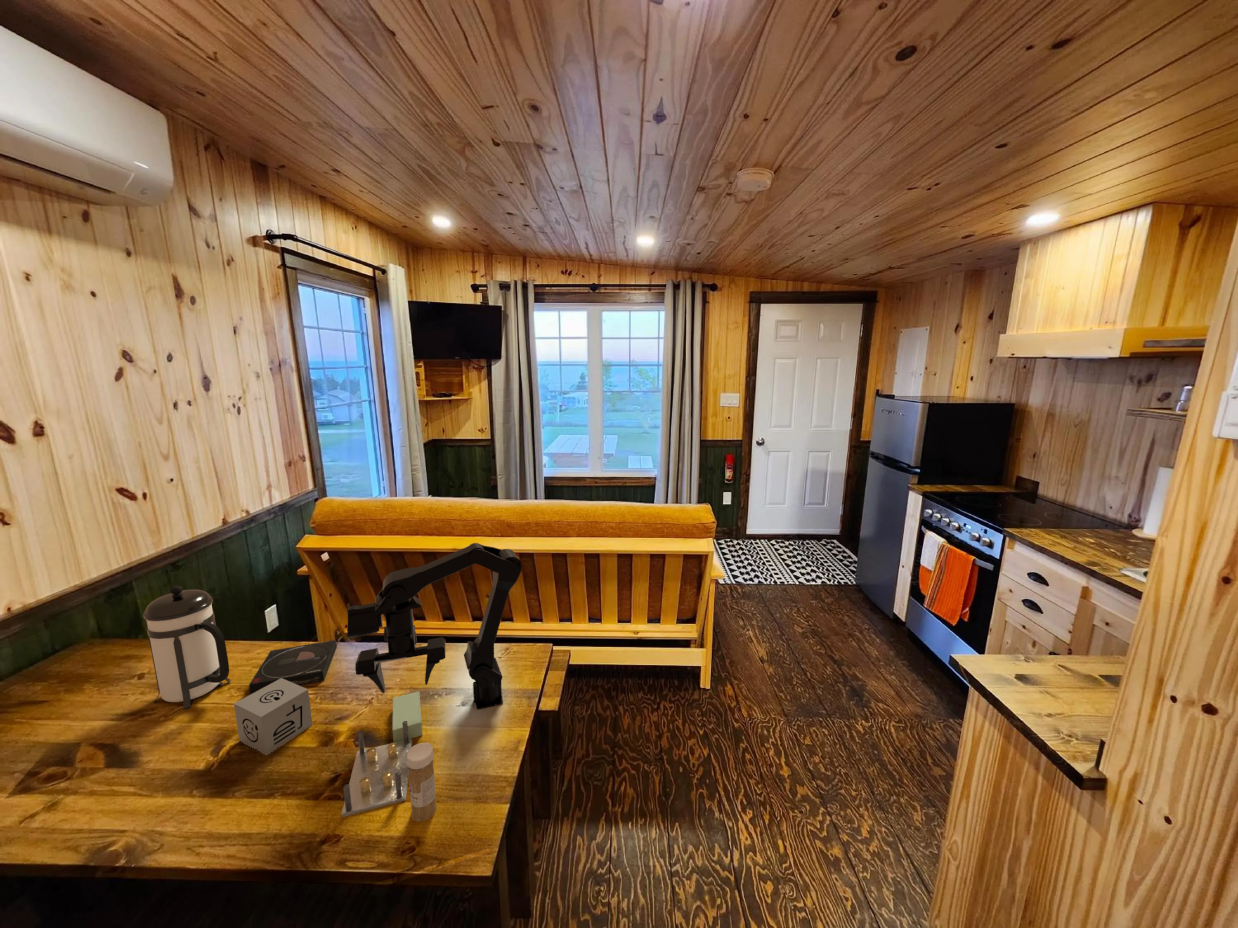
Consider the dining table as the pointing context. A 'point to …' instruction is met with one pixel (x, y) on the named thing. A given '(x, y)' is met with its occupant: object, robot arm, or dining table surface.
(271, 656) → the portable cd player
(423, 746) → the sprinkles bottle
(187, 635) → the coffee press
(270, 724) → the icon cube
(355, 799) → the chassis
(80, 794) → the dining table surface
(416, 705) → the board
